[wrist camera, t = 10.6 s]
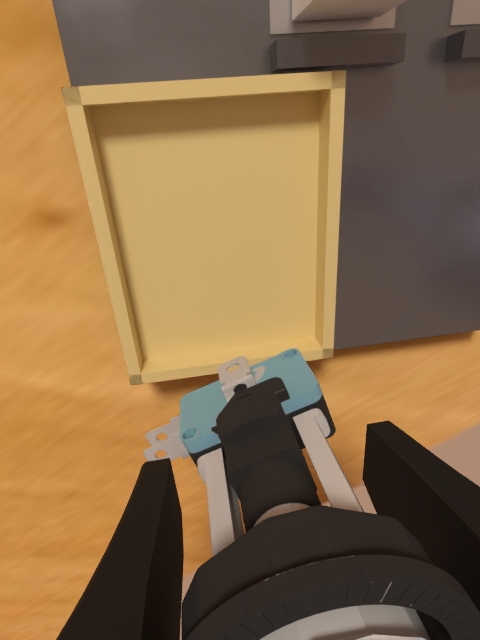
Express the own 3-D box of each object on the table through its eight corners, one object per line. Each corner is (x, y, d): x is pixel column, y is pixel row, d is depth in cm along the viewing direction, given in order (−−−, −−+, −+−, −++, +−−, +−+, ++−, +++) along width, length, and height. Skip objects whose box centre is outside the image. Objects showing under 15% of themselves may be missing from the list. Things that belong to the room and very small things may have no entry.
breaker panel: (607, -318, 12) (713, -429, 9) (470, 315, 21) (506, 337, 19) (-13, -348, 10) (-71, -496, 8) (139, 359, 19) (134, 389, 17)
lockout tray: (331, 76, 14) (346, 69, 13) (322, 342, 19) (333, 357, 17) (72, 92, 13) (61, 87, 12) (134, 367, 18) (131, 385, 16)
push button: (180, 477, 16) (179, 922, 7) (114, 375, 14) (-25, 826, 4) (331, 413, 16) (548, 776, 6) (288, 300, 13) (524, 603, 4)
